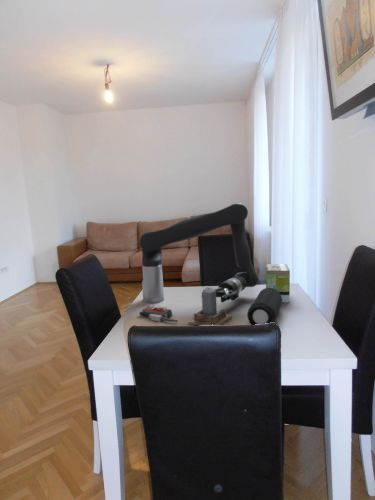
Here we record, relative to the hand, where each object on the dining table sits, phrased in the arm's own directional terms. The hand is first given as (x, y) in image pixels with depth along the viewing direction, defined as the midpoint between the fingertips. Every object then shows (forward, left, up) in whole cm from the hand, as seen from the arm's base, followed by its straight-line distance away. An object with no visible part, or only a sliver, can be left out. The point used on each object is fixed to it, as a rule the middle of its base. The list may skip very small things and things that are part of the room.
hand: (212, 298), depth 139 cm
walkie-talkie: (-20, -7, -9) cm, 23 cm away
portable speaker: (+19, +9, -9) cm, 22 cm away
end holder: (0, -2, -8) cm, 9 cm away
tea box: (+14, +37, -9) cm, 41 cm away
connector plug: (0, -2, -7) cm, 8 cm away
